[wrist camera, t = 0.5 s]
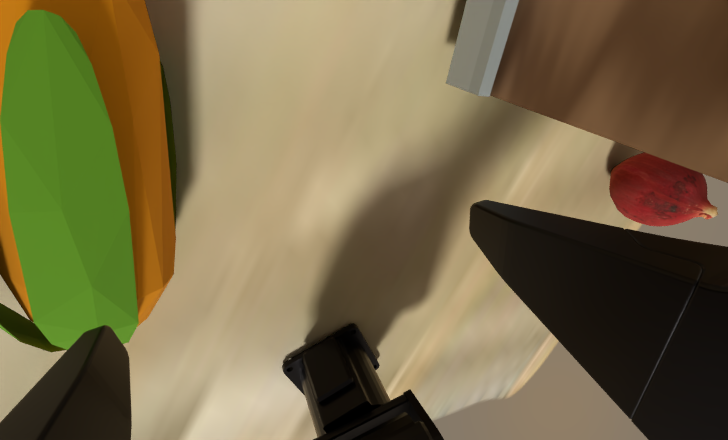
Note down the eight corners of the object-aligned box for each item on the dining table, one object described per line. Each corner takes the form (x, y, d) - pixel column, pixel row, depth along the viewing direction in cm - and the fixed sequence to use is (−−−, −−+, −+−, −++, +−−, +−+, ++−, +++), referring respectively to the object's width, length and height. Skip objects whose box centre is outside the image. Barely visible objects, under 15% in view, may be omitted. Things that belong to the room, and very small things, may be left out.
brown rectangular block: (542, 100, 21) (846, 200, 11) (488, 94, 19) (787, 204, 10) (582, -6, 18) (1006, 8, 9) (523, -22, 17) (962, -26, 7)
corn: (-43, 436, 14) (-485, -580, 5) (12, 298, 19) (-138, -275, 10) (187, 384, 17) (187, -245, 8) (175, 281, 23) (168, -156, 14)
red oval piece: (576, 203, 34) (668, 254, 27) (602, 140, 31) (711, 180, 24) (621, 196, 36) (715, 242, 29) (649, 136, 33) (760, 173, 27)
